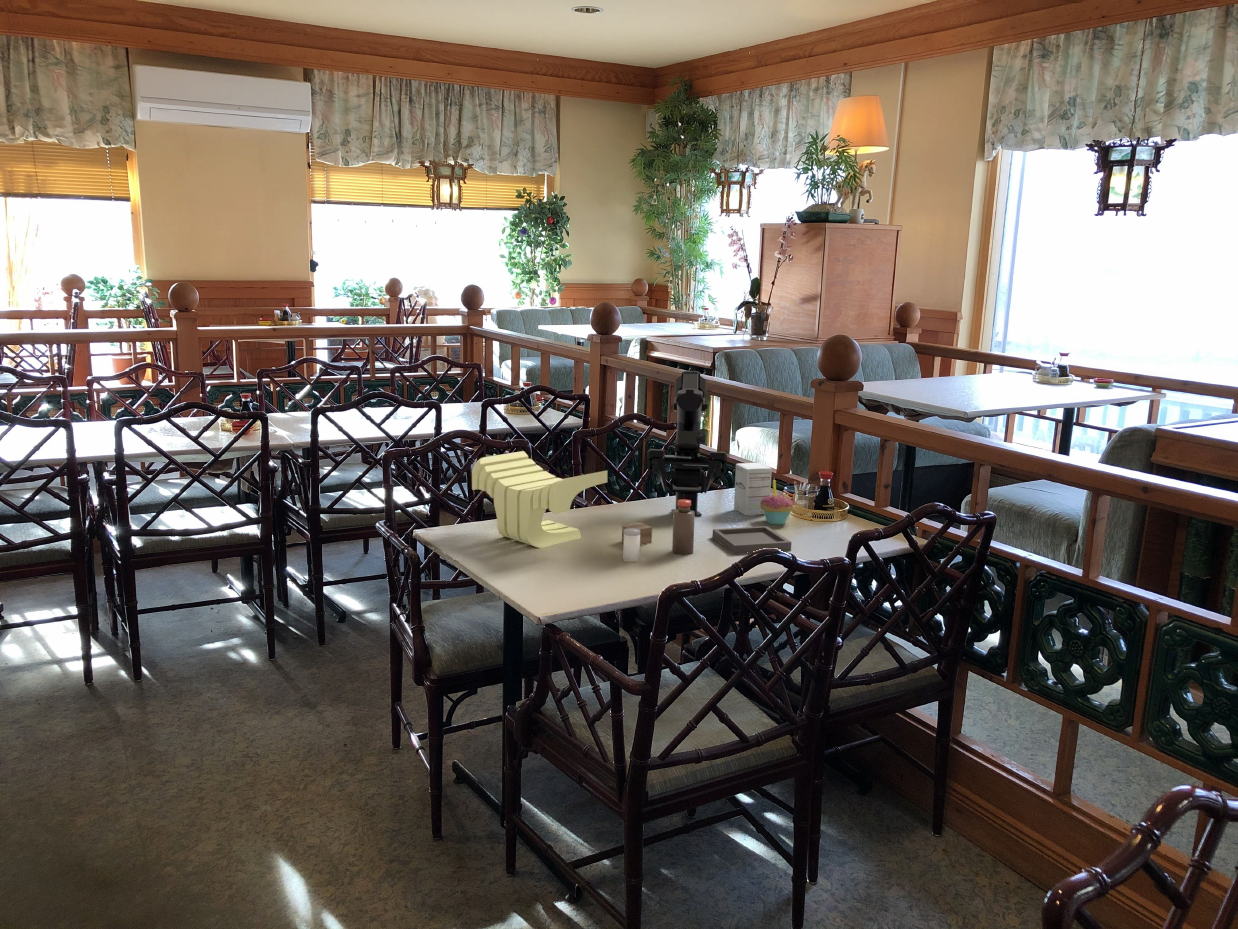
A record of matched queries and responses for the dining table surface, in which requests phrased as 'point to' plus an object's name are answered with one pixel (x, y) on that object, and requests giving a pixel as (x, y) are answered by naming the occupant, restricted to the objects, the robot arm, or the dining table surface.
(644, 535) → the walnut block
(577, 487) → the slatted curved stool
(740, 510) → the supplement box
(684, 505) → the soy bottle
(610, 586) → the dining table surface
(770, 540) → the tray
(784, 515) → the cupcake
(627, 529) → the salt shaker
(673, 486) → the robot arm
